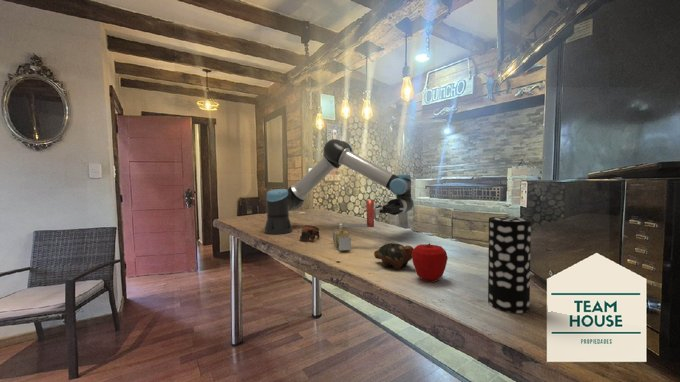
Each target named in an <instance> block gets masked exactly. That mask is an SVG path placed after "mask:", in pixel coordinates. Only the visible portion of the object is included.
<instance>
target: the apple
mask: <svg viewBox="0 0 680 382" xmlns="http://www.w3.org/2000/svg"><path fill="white" fill-rule="evenodd" d="M413 248H414V249H413V251H412V255H411V256H412V259H411V260H412V263H413V267H414V269H415V272H416V275H417V276H418V277H419V278H420V279H421V280H423V281H424V282H429V283H434V282H437V281H438V280H439V279H441V278H442V277H443V274H444V272H445V270H446V267H447V262H448V258H449V257H448V254H447V251H446V250H445V248H443V247H442V246H441V245H437V244H436V245H435V244H431V243H430V242H429V243H428V244H427V243H426V244H424V243H423V244H418V245H416V246H415V247H413Z"/></svg>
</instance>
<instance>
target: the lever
mask: <svg viewBox="0 0 680 382" xmlns="http://www.w3.org/2000/svg"><path fill="white" fill-rule="evenodd" d="M374 209H375V200H373V199H367V200H366V223H342V222H341V223H337V227H338V228H339V227H343V228H344V227H345V228H374V227H375V215H374Z"/></svg>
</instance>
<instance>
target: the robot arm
mask: <svg viewBox="0 0 680 382" xmlns="http://www.w3.org/2000/svg"><path fill="white" fill-rule="evenodd" d="M342 165H343V166H345V167H347V168H349V169H351V170H352V171H354V172H356V173H358V174H360V175H362V176H363V177H366V178H367V179H369V180H370V181H373V182H374V183H376V184H379V185H380V186H381V187H384V188H385V189H387V190H389V191H390V192H391V193H392V194H394V195H395V196H396V197H395V198H394V199H390V200H389V201H388V202H387V203H386V204H384V205H381V204H378V205H377V206H374V217H375V216H381V215H382V214H385V215H386V214H390V215H392V216H397V215H398V216H399V215H401V214H403V213H407V212H409V211H411V210H412V209H413V208H414V206H415V202H414V200H413V198H412V178H411V174H409V173H404V174H403V173H402V174H401V173H399V174H394V173H392V172H390V171H389V170H387V169H385V168H383V167H381V166H379V165H377V164H375V163H373V162H371V161H369V160H367V159H366V158H364V157H361V156H360V155H358V154H356V153H355V152H353V148H352V146H351V144H349V143H348V142H347V141H344V140H341V139H337V138H333V139H330V140H328V141H327V142H326V143H325V144H324V146H323V155H322V158H321V159H319V161H318V162H317V163H316V164H315V165H314V166H313V167H312V168H311V169H310V170H309V171H308V172H307V173H306V174H305V175H304V176H303V177H302V178H301V179H300V180H299V181H298V182H297V183H296V184H291V185H290V186H289V187H288V188H287V189H286V188H278V189H277V188H276V189H272V190H271V189H270V190H269V191H267V192H266V199H265V200H266V214H267V216H266V217H267V218H266V223H265V225H264V234H268V235H282V234H288V233H289V234H290V233H291V232H292V233H293V225H292V223H291V220H290V217H289V216H290V215H289V214H290V212H289V211H294V210H297V209H299V208H301V207H302V206H303V205H304V201H305V200H306V199H307V195H308V194H309V193H310V192H311V191H312V190H313V189H314V188H315V187H316V186H317V185H318V184H319V183H321V181H323V180H324V179H325V178H326V177H327V175H329V174H330V173H331V172H332V171H333V170H334V169H339V168H340V167H341V166H342Z"/></svg>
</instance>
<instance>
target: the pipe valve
mask: <svg viewBox="0 0 680 382" xmlns="http://www.w3.org/2000/svg"><path fill="white" fill-rule="evenodd" d="M332 241H333V246H334V248H335V249H336V250H337V251H338V252H350V251H352V237H350V233H349V232H348V231H347V230H344V227H338V229H332Z"/></svg>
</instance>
